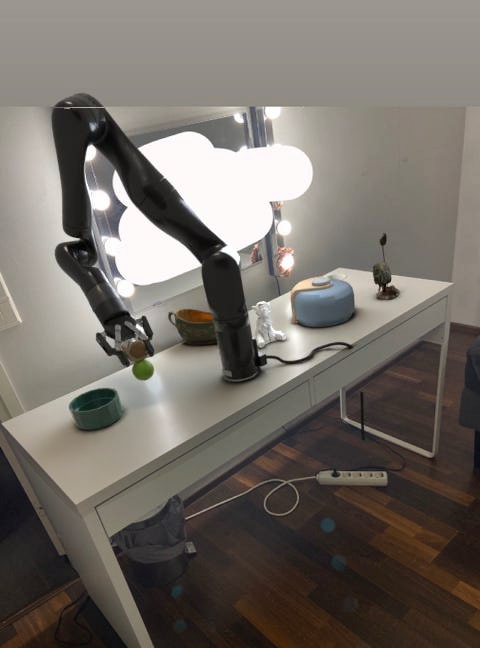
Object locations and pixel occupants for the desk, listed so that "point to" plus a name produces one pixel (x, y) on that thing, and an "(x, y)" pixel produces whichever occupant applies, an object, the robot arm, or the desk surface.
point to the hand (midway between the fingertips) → (140, 360)
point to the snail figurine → (139, 360)
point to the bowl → (96, 408)
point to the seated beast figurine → (265, 326)
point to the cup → (194, 326)
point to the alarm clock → (322, 302)
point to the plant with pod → (383, 276)
